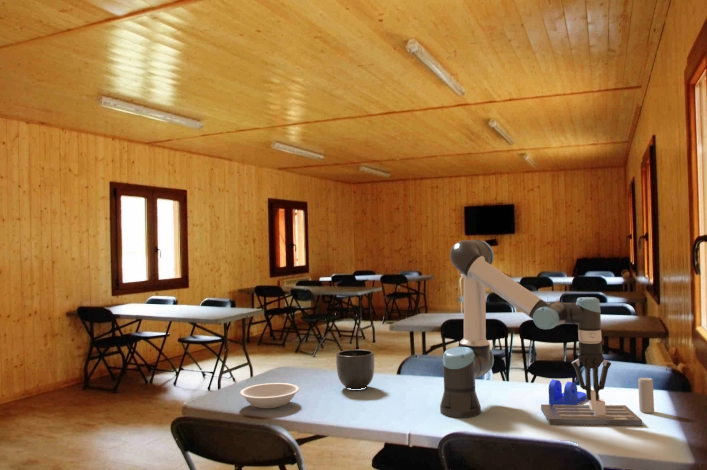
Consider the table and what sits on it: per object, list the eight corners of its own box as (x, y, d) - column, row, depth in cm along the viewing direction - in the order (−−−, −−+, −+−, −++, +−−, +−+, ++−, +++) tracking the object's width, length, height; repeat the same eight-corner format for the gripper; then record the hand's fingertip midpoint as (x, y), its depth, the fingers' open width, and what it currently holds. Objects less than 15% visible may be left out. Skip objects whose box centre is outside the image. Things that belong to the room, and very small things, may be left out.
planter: (375, 392, 248) (374, 355, 248) (336, 394, 248) (335, 357, 249) (375, 383, 265) (373, 348, 266) (337, 384, 266) (336, 349, 266)
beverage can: (648, 414, 206) (647, 381, 206) (636, 411, 210) (635, 378, 210) (657, 412, 208) (655, 379, 208) (645, 409, 212) (643, 376, 212)
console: (549, 424, 198) (549, 417, 198) (541, 409, 216) (540, 402, 216) (642, 426, 193) (642, 418, 193) (625, 410, 211) (625, 403, 211)
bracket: (569, 408, 217) (568, 384, 217) (549, 404, 223) (548, 381, 223) (589, 398, 230) (589, 375, 230) (569, 395, 236) (568, 373, 236)
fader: (596, 416, 199) (595, 401, 199) (594, 413, 202) (593, 398, 202) (605, 416, 198) (605, 401, 199) (603, 413, 201) (602, 398, 202)
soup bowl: (228, 407, 232) (227, 391, 233) (274, 395, 250) (274, 380, 250) (265, 418, 216) (264, 401, 216) (312, 404, 234) (311, 388, 234)
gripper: (573, 343, 198) (576, 412, 198) (612, 343, 196) (615, 412, 196) (568, 340, 206) (571, 406, 205) (606, 339, 204) (609, 406, 203)
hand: (593, 409), depth 200 cm, fingers closed
